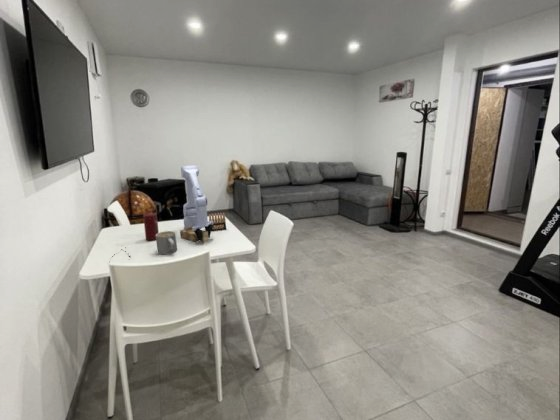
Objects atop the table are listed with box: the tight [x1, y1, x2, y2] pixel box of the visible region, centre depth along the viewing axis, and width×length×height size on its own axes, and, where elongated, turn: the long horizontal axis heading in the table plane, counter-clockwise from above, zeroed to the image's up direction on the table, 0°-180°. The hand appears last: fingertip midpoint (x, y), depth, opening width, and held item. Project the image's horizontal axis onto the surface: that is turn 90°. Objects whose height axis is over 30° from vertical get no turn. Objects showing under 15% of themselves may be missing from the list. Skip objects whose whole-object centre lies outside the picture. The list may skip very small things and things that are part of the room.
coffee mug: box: [155, 230, 178, 256], centre depth 160 cm, size 13×10×10 cm
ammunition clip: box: [208, 212, 227, 233], centre depth 195 cm, size 11×2×12 cm, turn 108°
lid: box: [179, 226, 206, 236], centre depth 180 cm, size 15×8×3 cm, turn 56°
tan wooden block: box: [199, 230, 210, 244], centre depth 176 cm, size 4×4×6 cm
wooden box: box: [179, 231, 199, 243], centre depth 182 cm, size 14×8×4 cm, turn 56°
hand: (204, 238), depth 176 cm, fingers open, 6 cm apart
